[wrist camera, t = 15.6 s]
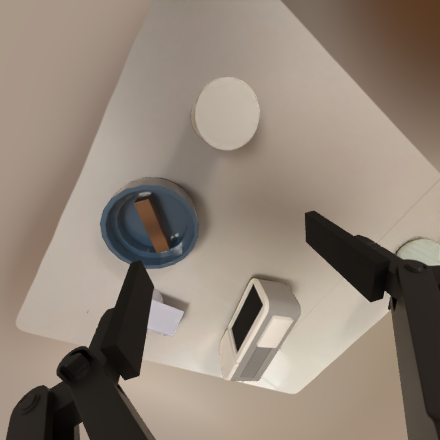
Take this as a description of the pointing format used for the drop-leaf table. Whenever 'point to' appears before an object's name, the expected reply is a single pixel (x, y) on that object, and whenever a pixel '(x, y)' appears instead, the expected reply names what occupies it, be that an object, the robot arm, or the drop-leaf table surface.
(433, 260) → the vase
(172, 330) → the wedge on round base
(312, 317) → the drop-leaf table surface
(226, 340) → the alarm clock
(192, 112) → the white patterned canister
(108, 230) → the bowl
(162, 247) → the stick
